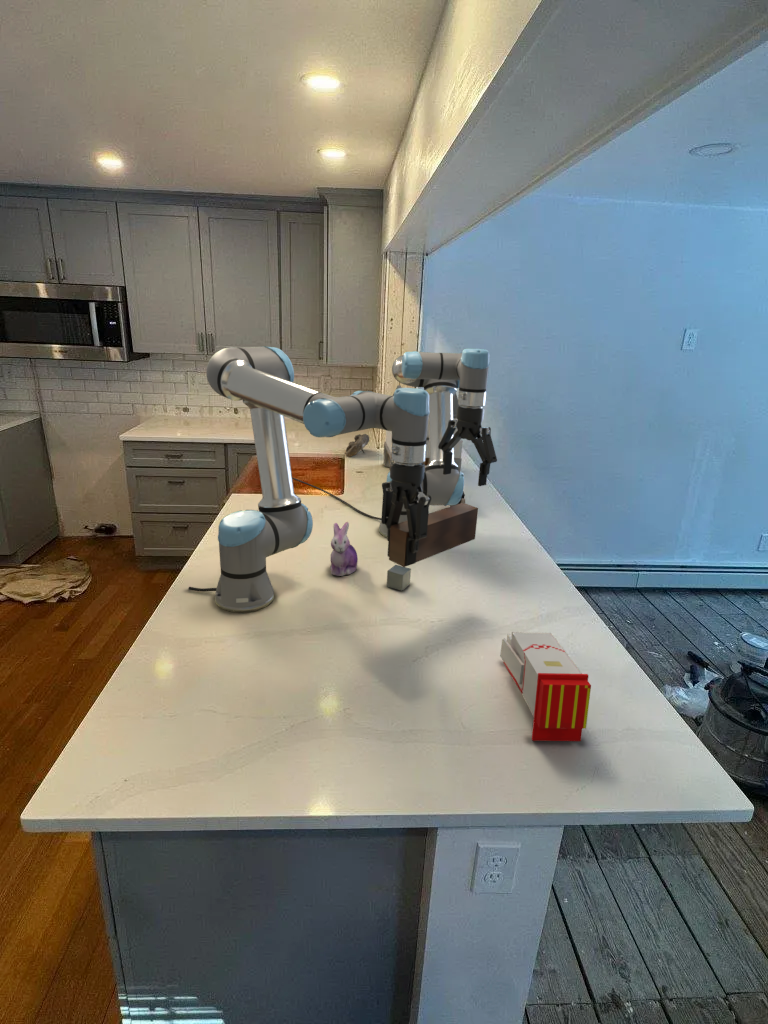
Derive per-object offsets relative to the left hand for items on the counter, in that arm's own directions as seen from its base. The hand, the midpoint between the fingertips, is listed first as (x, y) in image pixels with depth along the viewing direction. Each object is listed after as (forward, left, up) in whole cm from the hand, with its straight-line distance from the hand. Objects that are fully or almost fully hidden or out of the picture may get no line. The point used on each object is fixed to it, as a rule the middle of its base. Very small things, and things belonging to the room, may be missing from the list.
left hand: (401, 559), depth 130 cm
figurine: (-23, +31, -21) cm, 44 cm away
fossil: (-59, +172, -21) cm, 183 cm away
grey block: (-5, +26, -21) cm, 34 cm away
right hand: (+9, +43, +8) cm, 45 cm away
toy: (+33, -13, -21) cm, 41 cm away
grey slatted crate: (-20, +145, -21) cm, 148 cm away
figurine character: (+2, +101, -21) cm, 104 cm away
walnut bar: (+6, +10, 0) cm, 11 cm away
